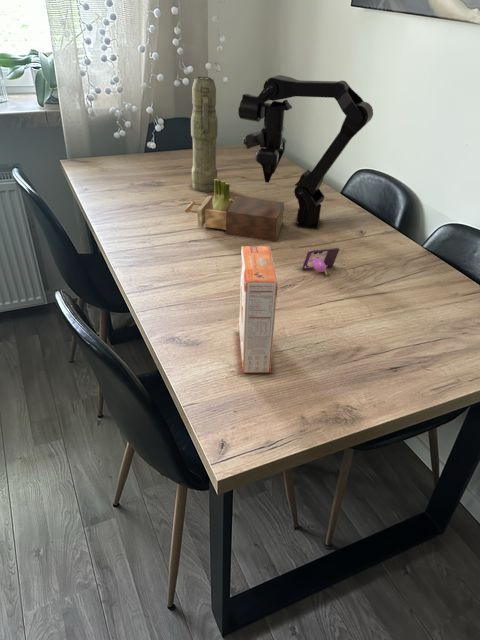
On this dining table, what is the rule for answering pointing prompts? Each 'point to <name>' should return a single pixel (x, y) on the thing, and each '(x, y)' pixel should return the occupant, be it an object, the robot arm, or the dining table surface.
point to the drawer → (209, 214)
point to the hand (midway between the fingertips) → (269, 177)
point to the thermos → (204, 134)
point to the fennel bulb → (221, 195)
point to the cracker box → (257, 308)
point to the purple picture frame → (321, 263)
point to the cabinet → (254, 218)
